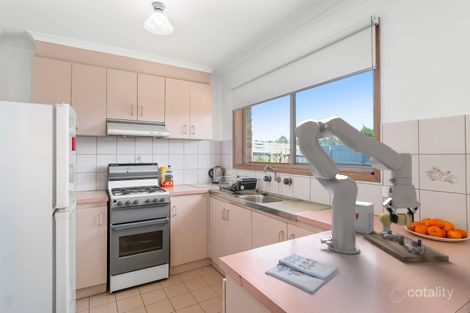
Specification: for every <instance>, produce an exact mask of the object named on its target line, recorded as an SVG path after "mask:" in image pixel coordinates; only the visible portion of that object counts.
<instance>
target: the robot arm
mask: <svg viewBox="0 0 470 313" xmlns="http://www.w3.org/2000/svg"><path fill="white" fill-rule="evenodd" d="M294 135H295V137H296V138H297V139H298V147H299V148H298V149H299V152H300V153H301V155H302V157H303V158H304V159H305V160H306V162H307V163H308V164H309V171H310V173H311V175H312V176H313V177H314V178H315V179H316V181H318V183H319V184H320V185H321V186H322V187H323V188H324V189H325V190H326V191H327V192H328V193H330V194H332V195H333V197H332V202H331V235H329V237H327V238H321V239H320V244H326V246H327V247H328V248H329V249H330V250H331V251H334V252H337V253H339V254H345V255H352V254H353V255H354V254H358V253H359V252H360V251H361V248H360V246H359V245H357V243H356V242H357V241H356V240H357V239H356V238H357V237H356V235H357V232H356V201H357V198H358V194H359V193H358V192H359V190H358V189H359V188H358V185H357V182H356V181H355V180H354V179H353V178H352V177H350V176H348V175H341V174H339V171H340V170H339V166H338V163H337V162H336V161H335V160H334V159H333V158H332V157H331V156H330V155H329V154H328V153H327V152H326V151H325V150H324V148H323V147H322V145H321V144H320V141H319V140H323V139H328V138H333V139H334V140H336V141H337V142H339V143H340V144H341V145H342V146H344V147H345V148H346V149H348V150H350V151H352V152H355V153H357V154H361V155H365V156H367V157H369V164H370V166H371V167H372V168H374V169H376V170H379V171H390V178H389V179H388V182H389V183H390V184H389V187H388V191H387V200H385V202H383V203H382V206H383V207H384V208H385V210H386V211H387V213H389V214H390V222H393V223H397V217H396V214H395V213H397V210H398V209H407V212H406V214H410V215H412V224H413V223H414V222H415V214H416V213H417V211H418V209H419V207H421V205H422V204H421V203H420V202H419V200H418V197H417V191H416V190H417V189H416V186H415V184H413V164H412V163H413V160H412V159H413V158H412V157H413V156H412V154H411V153H410V152H397V151H396V150H394V149H393V148H391V146H389V145H387V144H385V143H383V142H381V141H380V140H377V139H375V138H373V137H371V136H368V135H366V134H364V132H361V131H360V130H358V129H357V128H355V127H354V126H353V125H351V124H350V123H349V122H348V121H346V120H345V119H343V118H341V117H338V116H332V117H329V118H327V119H323V120H318V121H317V120H314V119H307V120H304V121H302V122H300V123H299V124H297V126H296V127H295V130H294ZM393 223H392V224H393Z"/></svg>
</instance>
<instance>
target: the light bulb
mask: <svg viewBox="0 0 470 313" xmlns="http://www.w3.org/2000/svg"><path fill="white" fill-rule="evenodd" d="M378 218H379V219H378V220H379V222H380V223H381V224H382V225H381V226H382V228H381V229H382V232H384V231H386V232H387V230H391V225H392V224H393V222H390V213H389V212H382V213H380V215H379V217H378Z"/></svg>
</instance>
